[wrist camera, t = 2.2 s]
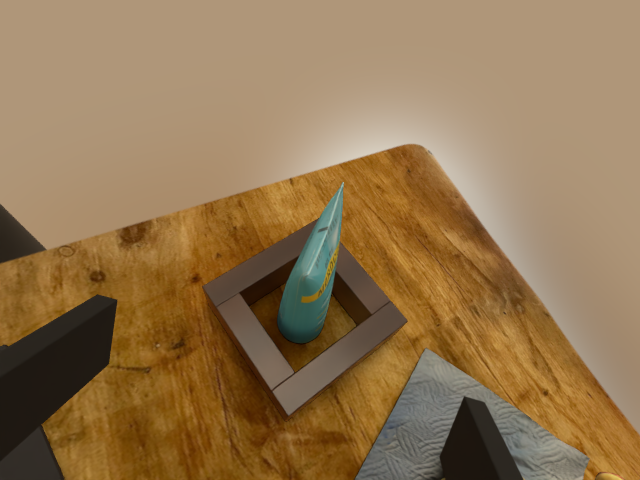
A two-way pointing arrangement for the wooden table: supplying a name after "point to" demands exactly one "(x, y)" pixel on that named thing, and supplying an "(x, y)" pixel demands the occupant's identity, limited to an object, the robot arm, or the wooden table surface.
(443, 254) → the wooden table surface
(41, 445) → the mat
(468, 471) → the robot arm
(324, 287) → the tube
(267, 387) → the square wooden frame
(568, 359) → the wooden table surface
